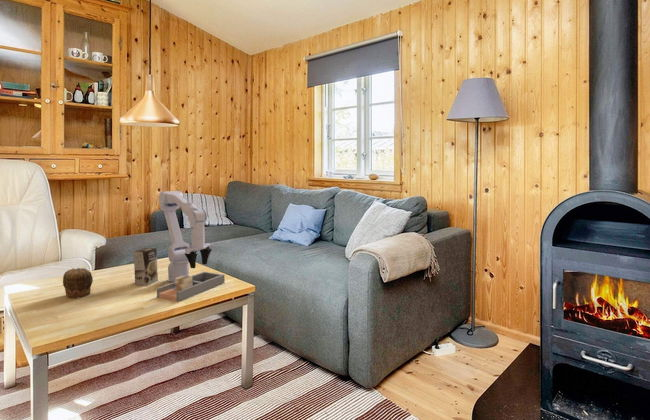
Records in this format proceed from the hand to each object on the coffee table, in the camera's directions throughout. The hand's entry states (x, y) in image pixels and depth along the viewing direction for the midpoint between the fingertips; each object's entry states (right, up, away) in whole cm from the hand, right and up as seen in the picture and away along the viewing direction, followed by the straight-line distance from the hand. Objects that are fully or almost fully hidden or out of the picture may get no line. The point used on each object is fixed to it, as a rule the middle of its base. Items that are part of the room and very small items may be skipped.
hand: (198, 266), depth 185 cm
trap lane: (-3, -11, -2) cm, 11 cm away
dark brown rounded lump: (-48, -12, -10) cm, 51 cm away
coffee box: (-27, -9, +9) cm, 30 cm away
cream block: (-4, -9, -6) cm, 12 cm away
